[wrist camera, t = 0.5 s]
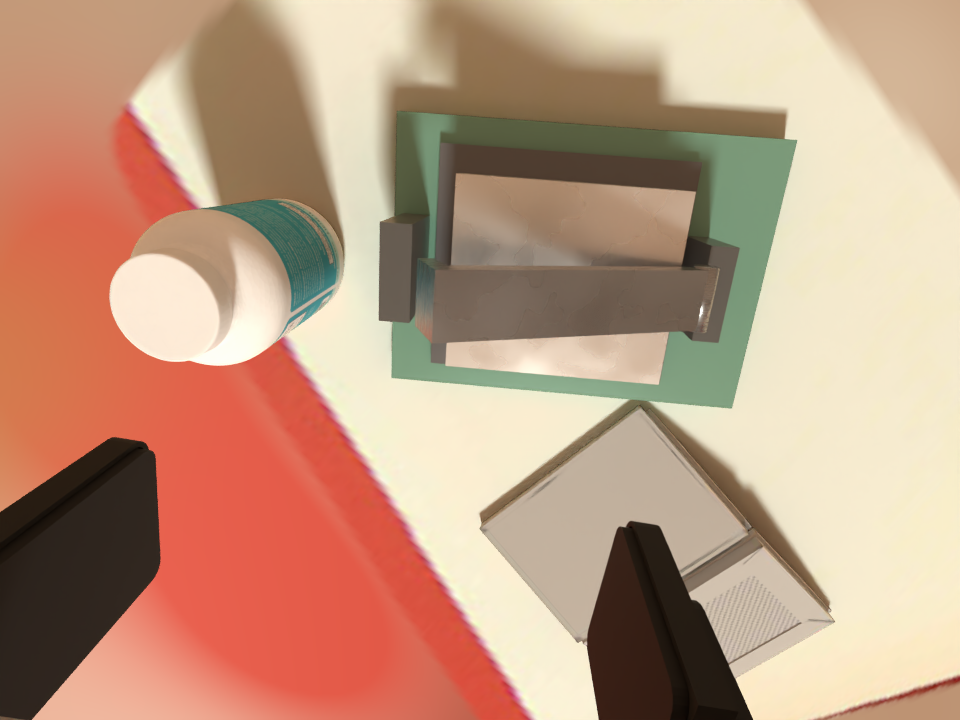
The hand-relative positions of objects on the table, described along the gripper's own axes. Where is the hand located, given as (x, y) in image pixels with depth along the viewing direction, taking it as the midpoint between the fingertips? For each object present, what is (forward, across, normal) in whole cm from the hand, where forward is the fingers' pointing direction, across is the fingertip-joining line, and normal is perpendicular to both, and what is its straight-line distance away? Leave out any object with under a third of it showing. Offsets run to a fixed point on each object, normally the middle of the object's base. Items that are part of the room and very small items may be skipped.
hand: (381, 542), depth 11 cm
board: (+26, -6, -2) cm, 26 cm away
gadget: (+26, -17, +19) cm, 37 cm away
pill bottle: (+26, +12, 0) cm, 28 cm away
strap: (+17, -5, -2) cm, 18 cm away
